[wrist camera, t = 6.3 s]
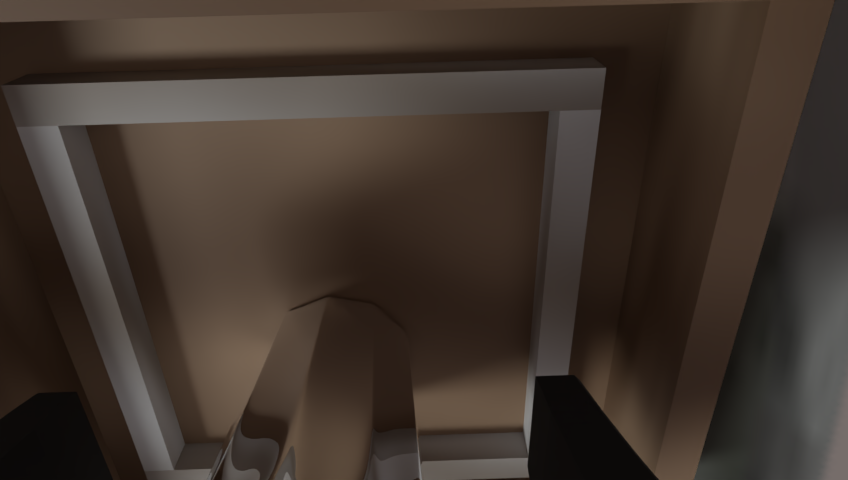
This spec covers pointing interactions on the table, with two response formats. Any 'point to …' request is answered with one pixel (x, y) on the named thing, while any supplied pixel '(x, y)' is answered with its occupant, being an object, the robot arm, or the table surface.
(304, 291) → the socket box
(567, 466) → the robot arm
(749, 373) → the table surface
